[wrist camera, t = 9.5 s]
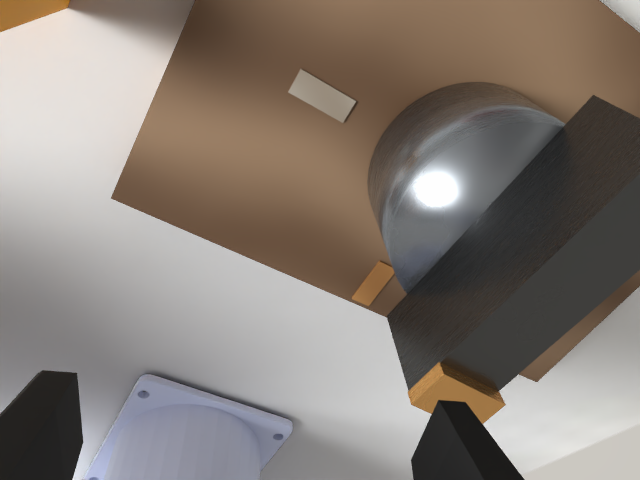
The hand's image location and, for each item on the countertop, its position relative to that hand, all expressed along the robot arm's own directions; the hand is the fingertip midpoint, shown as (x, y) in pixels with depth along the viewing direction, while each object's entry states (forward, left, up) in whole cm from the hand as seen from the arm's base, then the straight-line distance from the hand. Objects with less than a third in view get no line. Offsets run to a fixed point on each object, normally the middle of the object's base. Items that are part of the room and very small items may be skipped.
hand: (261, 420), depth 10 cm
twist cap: (+5, -5, -9) cm, 11 cm away
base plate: (+5, -5, -10) cm, 12 cm away
